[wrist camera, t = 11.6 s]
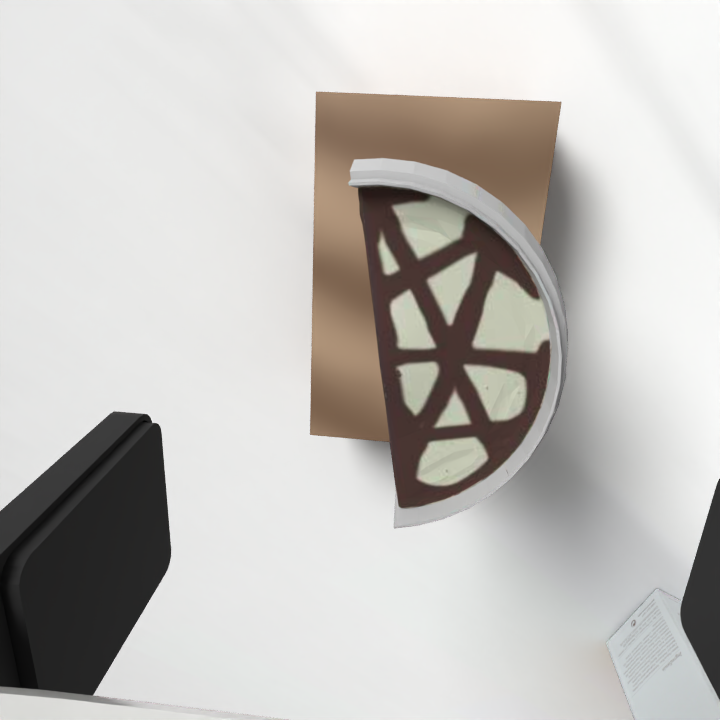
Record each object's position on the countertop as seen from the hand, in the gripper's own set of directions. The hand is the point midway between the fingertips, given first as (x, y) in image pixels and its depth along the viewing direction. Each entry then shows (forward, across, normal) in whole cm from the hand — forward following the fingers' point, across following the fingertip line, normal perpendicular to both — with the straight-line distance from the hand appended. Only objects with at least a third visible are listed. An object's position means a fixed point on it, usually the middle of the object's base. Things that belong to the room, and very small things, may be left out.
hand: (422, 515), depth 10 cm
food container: (+18, -2, 0) cm, 19 cm away
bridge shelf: (+24, 0, +1) cm, 24 cm away
